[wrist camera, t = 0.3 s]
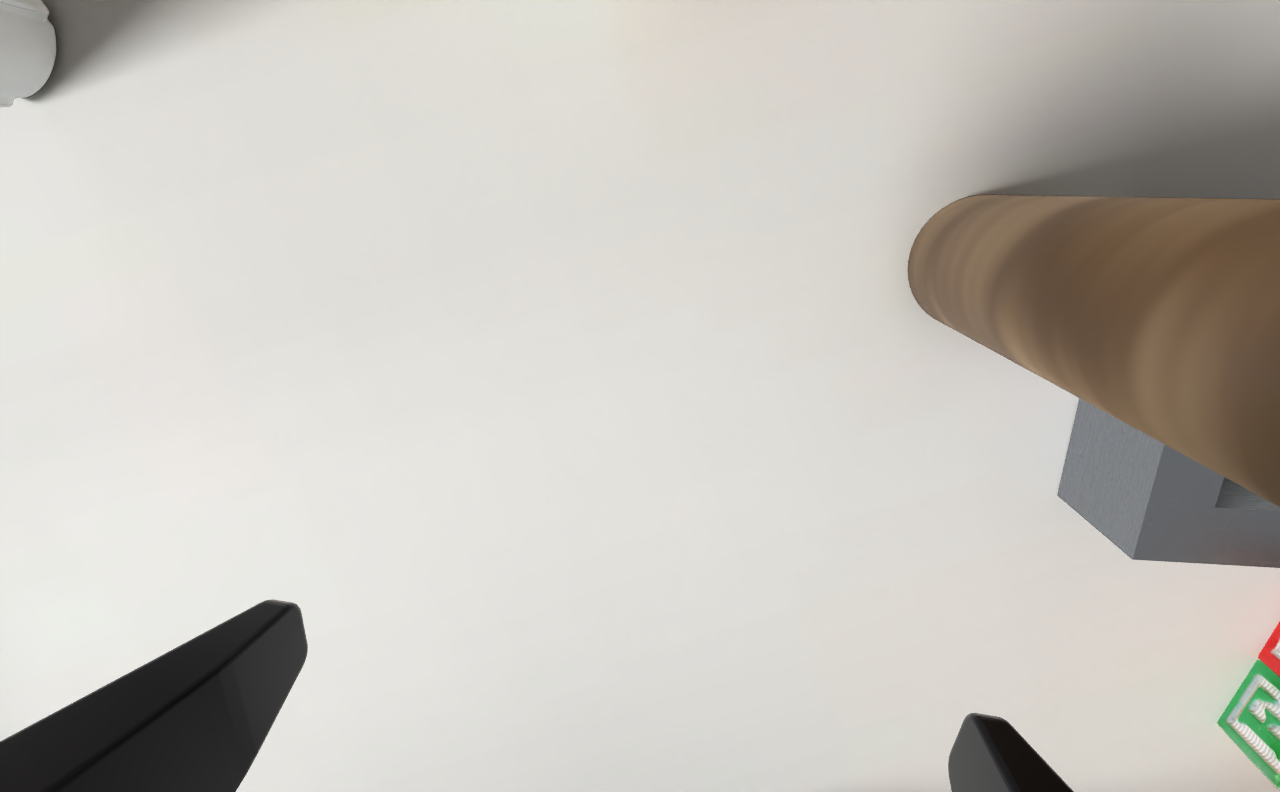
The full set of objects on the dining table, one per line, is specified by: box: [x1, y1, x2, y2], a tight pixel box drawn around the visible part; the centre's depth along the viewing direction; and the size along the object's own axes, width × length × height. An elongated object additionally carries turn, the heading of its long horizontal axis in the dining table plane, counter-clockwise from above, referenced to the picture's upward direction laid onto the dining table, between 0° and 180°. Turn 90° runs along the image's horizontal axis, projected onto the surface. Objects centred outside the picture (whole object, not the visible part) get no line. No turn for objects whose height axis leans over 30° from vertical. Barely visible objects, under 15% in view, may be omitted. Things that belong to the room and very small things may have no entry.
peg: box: [908, 195, 1280, 507], centre depth 14 cm, size 4×4×13 cm
